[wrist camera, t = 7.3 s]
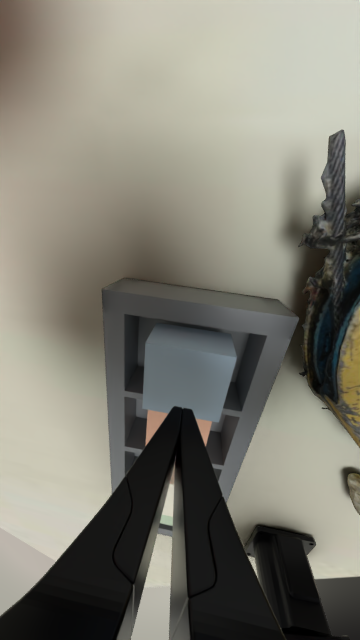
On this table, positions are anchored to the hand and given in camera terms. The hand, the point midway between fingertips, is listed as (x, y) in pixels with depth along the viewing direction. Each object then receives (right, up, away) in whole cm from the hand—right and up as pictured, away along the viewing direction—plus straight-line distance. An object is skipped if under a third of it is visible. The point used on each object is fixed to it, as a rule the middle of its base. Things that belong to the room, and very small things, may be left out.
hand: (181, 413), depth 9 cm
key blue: (0, +2, +4) cm, 4 cm away
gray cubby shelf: (0, -5, +9) cm, 10 cm away
